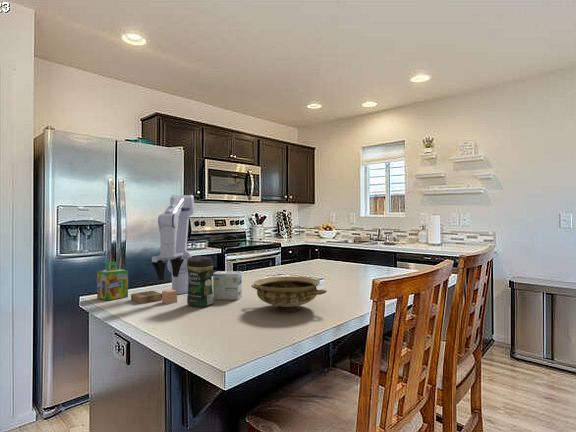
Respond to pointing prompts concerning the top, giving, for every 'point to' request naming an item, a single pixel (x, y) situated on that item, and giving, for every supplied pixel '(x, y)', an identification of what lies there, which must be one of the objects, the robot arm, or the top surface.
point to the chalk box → (112, 283)
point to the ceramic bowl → (287, 291)
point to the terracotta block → (169, 296)
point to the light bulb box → (227, 285)
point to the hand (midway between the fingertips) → (168, 278)
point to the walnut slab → (146, 297)
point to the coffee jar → (200, 281)
